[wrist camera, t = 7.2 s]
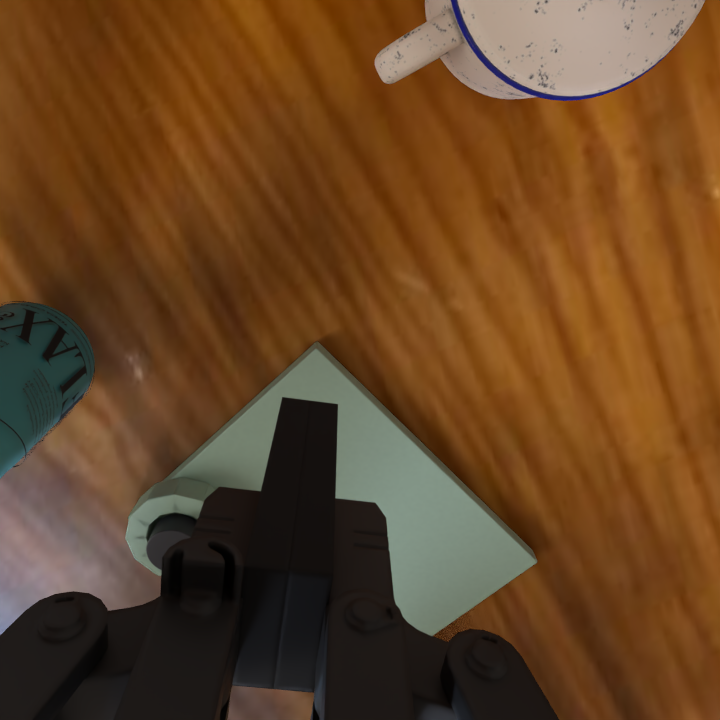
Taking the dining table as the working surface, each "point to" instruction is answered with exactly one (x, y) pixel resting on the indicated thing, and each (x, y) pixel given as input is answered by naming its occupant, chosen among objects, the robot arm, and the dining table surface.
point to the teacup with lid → (541, 44)
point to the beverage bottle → (38, 375)
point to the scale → (359, 493)
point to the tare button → (168, 536)
